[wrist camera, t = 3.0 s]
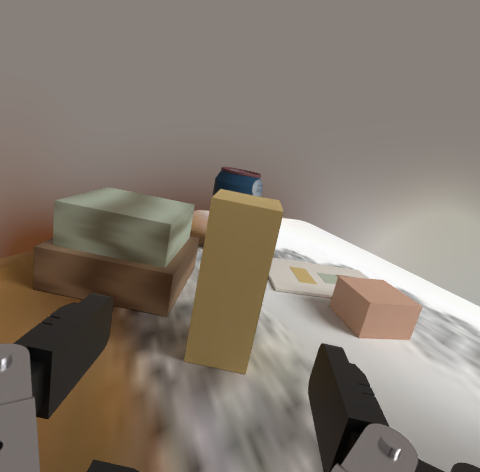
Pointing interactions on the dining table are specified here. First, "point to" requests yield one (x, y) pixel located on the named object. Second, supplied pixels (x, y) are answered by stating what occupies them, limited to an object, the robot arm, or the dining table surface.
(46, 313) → the dining table surface
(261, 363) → the dining table surface
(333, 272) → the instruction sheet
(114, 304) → the tower base
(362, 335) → the brick
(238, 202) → the tall brick
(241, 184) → the soda can
